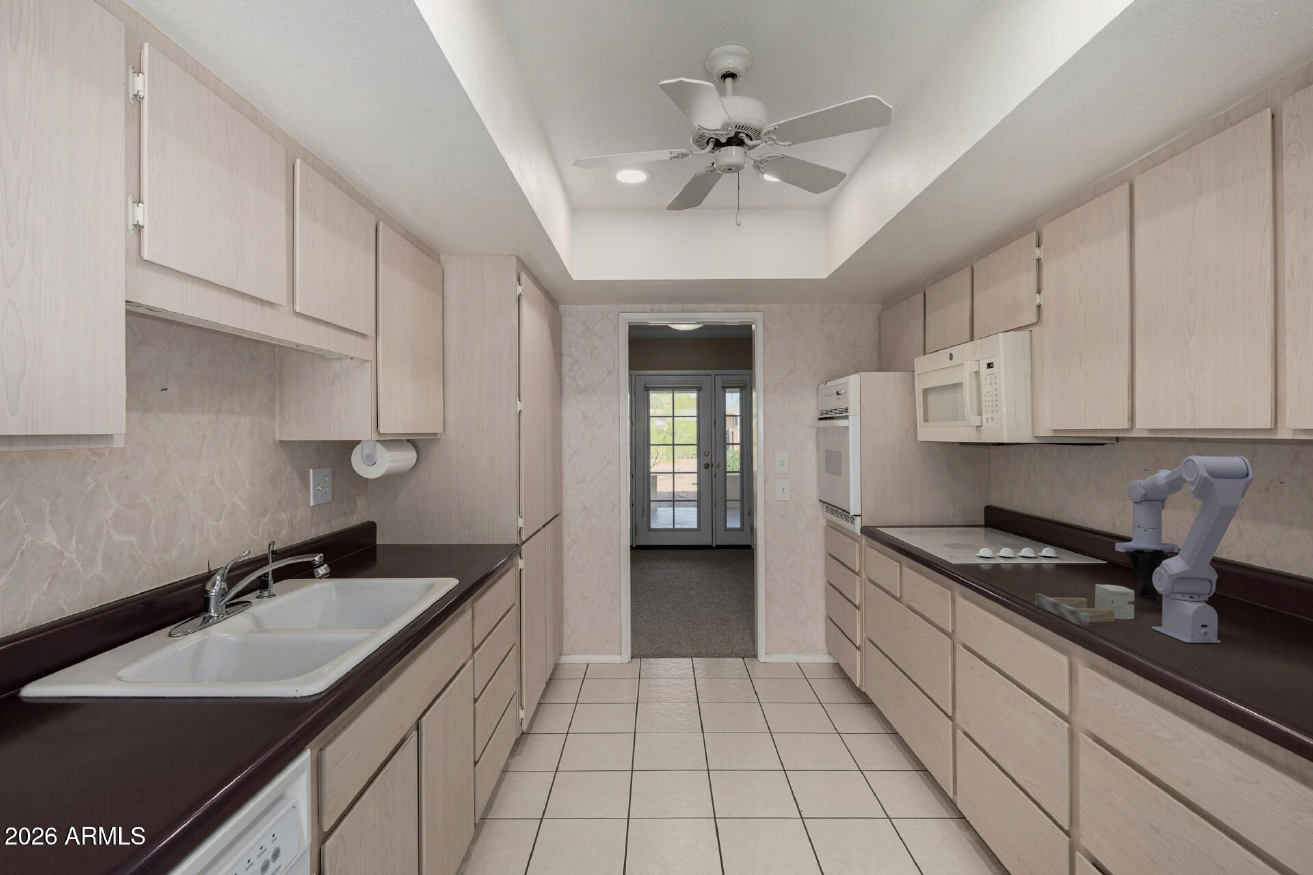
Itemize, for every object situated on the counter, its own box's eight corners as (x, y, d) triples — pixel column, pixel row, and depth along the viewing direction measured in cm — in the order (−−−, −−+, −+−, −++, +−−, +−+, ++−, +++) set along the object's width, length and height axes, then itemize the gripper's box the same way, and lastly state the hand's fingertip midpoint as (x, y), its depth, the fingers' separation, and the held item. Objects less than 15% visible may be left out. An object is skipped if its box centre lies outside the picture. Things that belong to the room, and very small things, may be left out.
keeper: (1126, 627, 141) (1126, 614, 141) (1082, 626, 141) (1082, 614, 141) (1073, 604, 159) (1073, 593, 159) (1034, 604, 159) (1034, 593, 159)
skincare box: (1108, 618, 147) (1108, 589, 147) (1094, 611, 153) (1094, 583, 153) (1134, 620, 146) (1135, 591, 146) (1119, 612, 152) (1120, 584, 152)
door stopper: (1183, 604, 159) (1184, 561, 159) (1164, 605, 158) (1165, 561, 158) (1150, 595, 168) (1151, 554, 168) (1132, 596, 167) (1133, 554, 167)
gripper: (1162, 524, 153) (1161, 575, 153) (1106, 524, 153) (1105, 575, 153) (1186, 529, 146) (1185, 582, 146) (1128, 528, 146) (1127, 582, 146)
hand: (1145, 579), depth 149 cm, fingers closed
